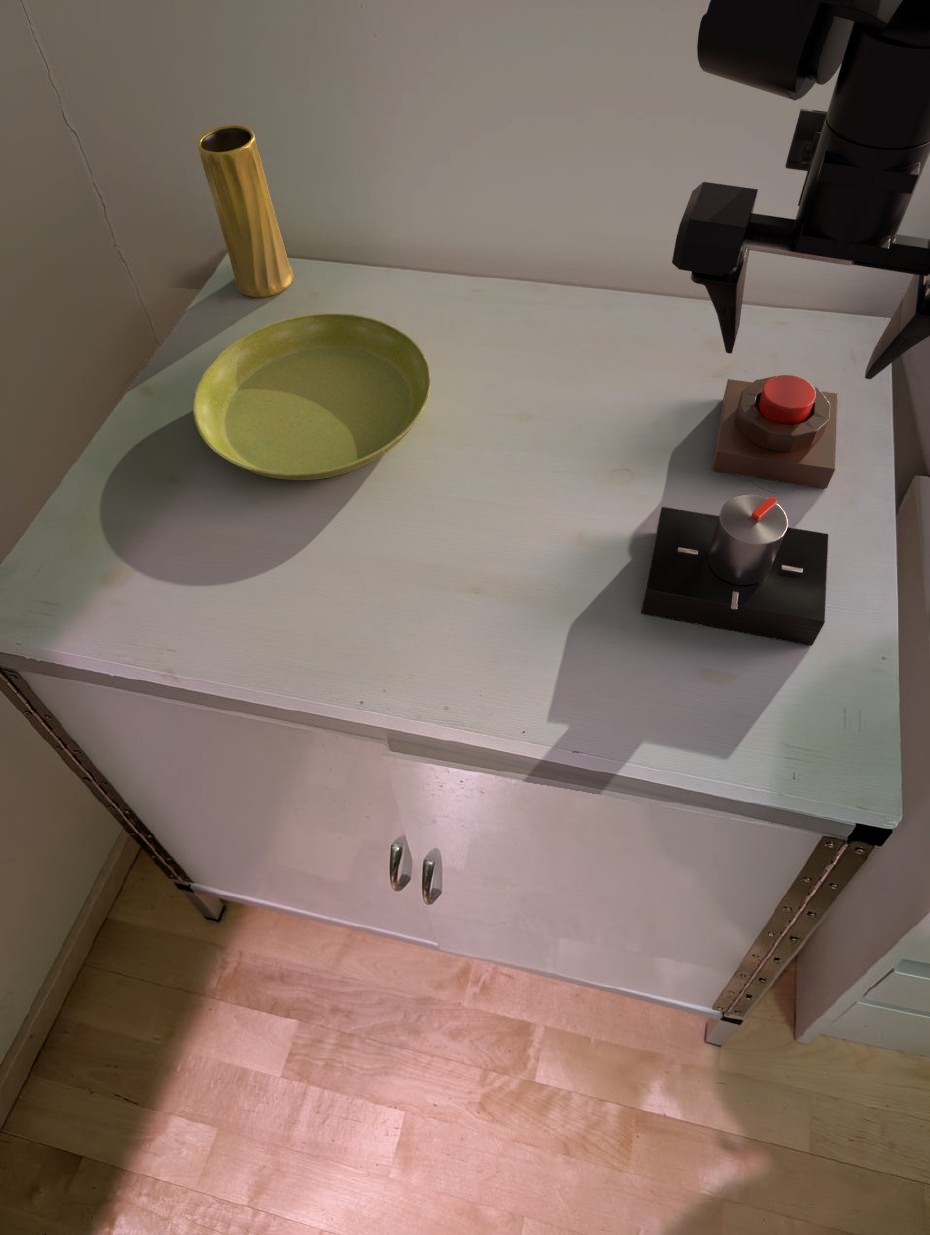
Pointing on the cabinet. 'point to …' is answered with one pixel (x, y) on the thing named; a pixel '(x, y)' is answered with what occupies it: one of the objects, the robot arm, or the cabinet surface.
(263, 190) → the vase
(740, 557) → the knob
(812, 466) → the button block
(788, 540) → the panel
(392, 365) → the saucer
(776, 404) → the button
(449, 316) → the cabinet surface
